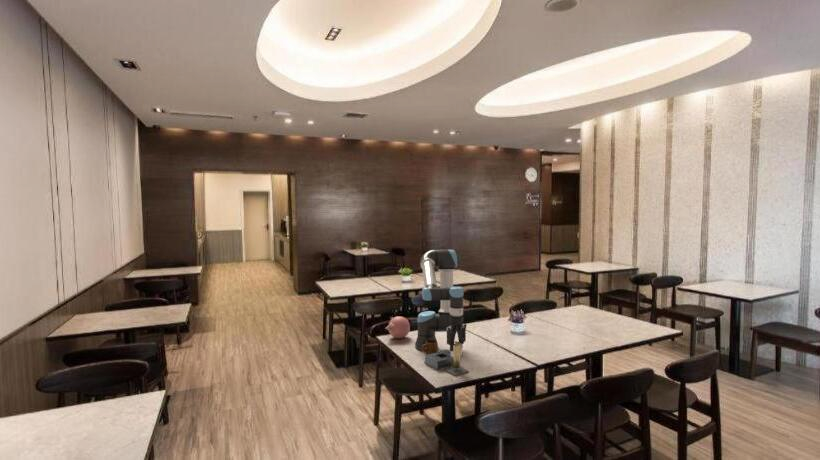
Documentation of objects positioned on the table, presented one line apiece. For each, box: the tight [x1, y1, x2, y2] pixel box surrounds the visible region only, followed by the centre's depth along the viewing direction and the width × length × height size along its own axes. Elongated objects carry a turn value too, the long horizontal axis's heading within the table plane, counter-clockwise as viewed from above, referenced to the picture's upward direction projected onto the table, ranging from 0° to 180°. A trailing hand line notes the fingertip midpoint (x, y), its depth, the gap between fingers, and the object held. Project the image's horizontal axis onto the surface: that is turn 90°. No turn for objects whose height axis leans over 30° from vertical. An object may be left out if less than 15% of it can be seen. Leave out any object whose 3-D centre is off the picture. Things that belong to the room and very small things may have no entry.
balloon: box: [384, 315, 411, 340], centre depth 283 cm, size 15×20×15 cm
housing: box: [424, 349, 452, 371], centre depth 237 cm, size 12×16×5 cm
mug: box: [421, 339, 439, 356], centre depth 248 cm, size 12×8×9 cm, turn 133°
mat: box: [443, 366, 470, 377], centre depth 226 cm, size 10×10×1 cm
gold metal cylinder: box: [451, 340, 461, 369], centre depth 226 cm, size 4×4×14 cm
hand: (456, 355), depth 226 cm, fingers closed on gold metal cylinder, 4 cm apart
